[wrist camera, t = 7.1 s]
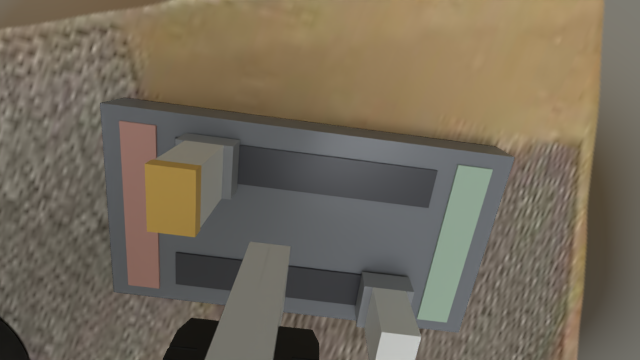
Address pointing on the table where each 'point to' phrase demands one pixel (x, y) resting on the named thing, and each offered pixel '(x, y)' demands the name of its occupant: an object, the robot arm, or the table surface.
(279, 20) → the table surface
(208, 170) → the handle
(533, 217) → the table surface
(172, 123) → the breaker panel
